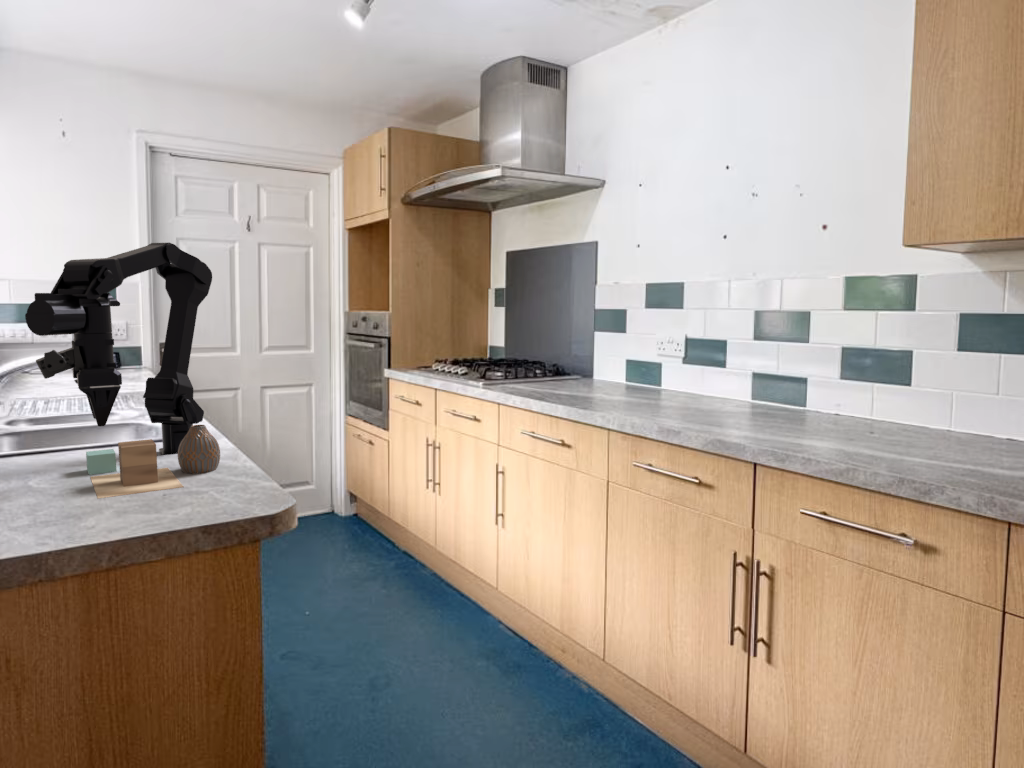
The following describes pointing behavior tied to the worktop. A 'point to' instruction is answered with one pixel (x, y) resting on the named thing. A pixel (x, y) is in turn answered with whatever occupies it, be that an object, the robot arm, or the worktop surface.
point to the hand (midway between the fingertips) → (99, 422)
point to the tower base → (138, 474)
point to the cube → (101, 461)
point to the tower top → (137, 453)
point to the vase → (198, 451)
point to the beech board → (114, 486)
